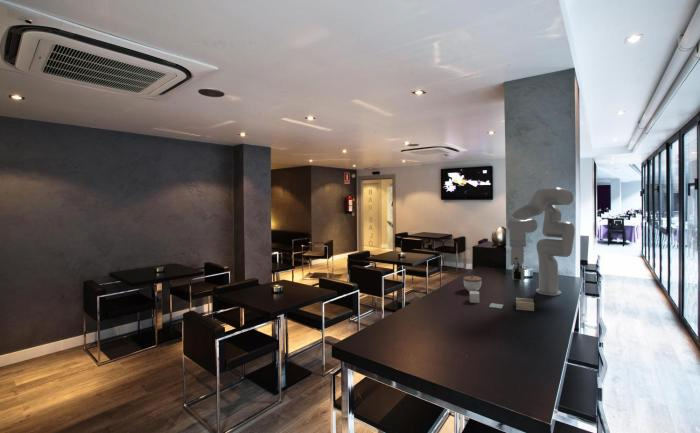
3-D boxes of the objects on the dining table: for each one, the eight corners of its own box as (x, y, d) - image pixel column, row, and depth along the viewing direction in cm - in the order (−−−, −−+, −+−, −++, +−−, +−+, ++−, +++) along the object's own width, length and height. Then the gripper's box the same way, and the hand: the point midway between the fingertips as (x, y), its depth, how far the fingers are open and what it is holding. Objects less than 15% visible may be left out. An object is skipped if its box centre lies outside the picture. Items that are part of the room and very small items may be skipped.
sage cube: (513, 277, 177) (513, 267, 176) (524, 278, 174) (524, 268, 173) (512, 279, 173) (511, 269, 172) (522, 280, 170) (522, 270, 169)
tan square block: (516, 305, 177) (515, 297, 177) (533, 306, 174) (533, 299, 173) (516, 309, 170) (516, 302, 170) (534, 311, 166) (533, 303, 166)
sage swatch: (491, 303, 180) (491, 303, 180) (503, 305, 176) (503, 304, 176) (489, 307, 175) (489, 306, 175) (501, 308, 171) (501, 308, 171)
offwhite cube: (469, 299, 189) (469, 291, 188) (479, 300, 187) (478, 291, 187) (469, 302, 184) (469, 293, 184) (479, 303, 182) (479, 294, 182)
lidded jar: (459, 289, 209) (459, 275, 208) (472, 287, 213) (472, 272, 213) (472, 293, 199) (472, 278, 199) (485, 290, 204) (485, 275, 203)
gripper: (512, 240, 181) (513, 273, 182) (506, 245, 167) (507, 281, 168) (528, 241, 177) (528, 275, 178) (523, 246, 163) (523, 282, 164)
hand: (518, 277), depth 173 cm, fingers closed on sage cube, 5 cm apart
